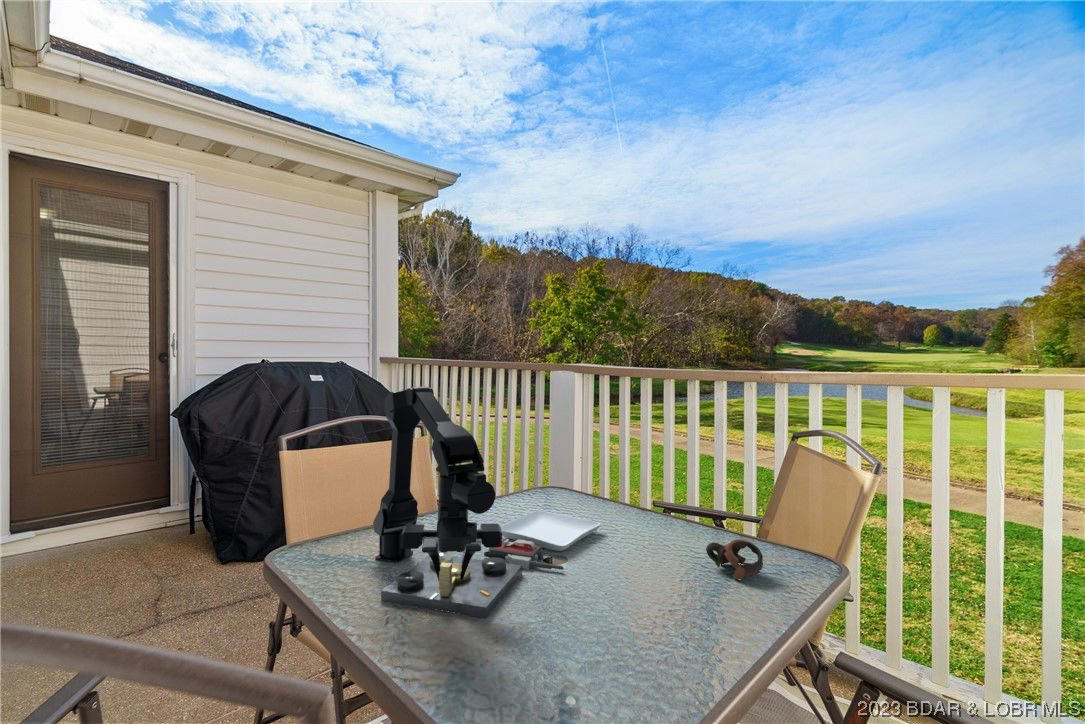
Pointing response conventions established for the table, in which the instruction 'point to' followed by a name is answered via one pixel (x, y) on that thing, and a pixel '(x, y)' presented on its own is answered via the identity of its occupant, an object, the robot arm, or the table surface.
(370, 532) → the table surface
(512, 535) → the salad plate
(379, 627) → the table surface
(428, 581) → the instrument base
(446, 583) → the brass knob
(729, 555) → the pottery mug
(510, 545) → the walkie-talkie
